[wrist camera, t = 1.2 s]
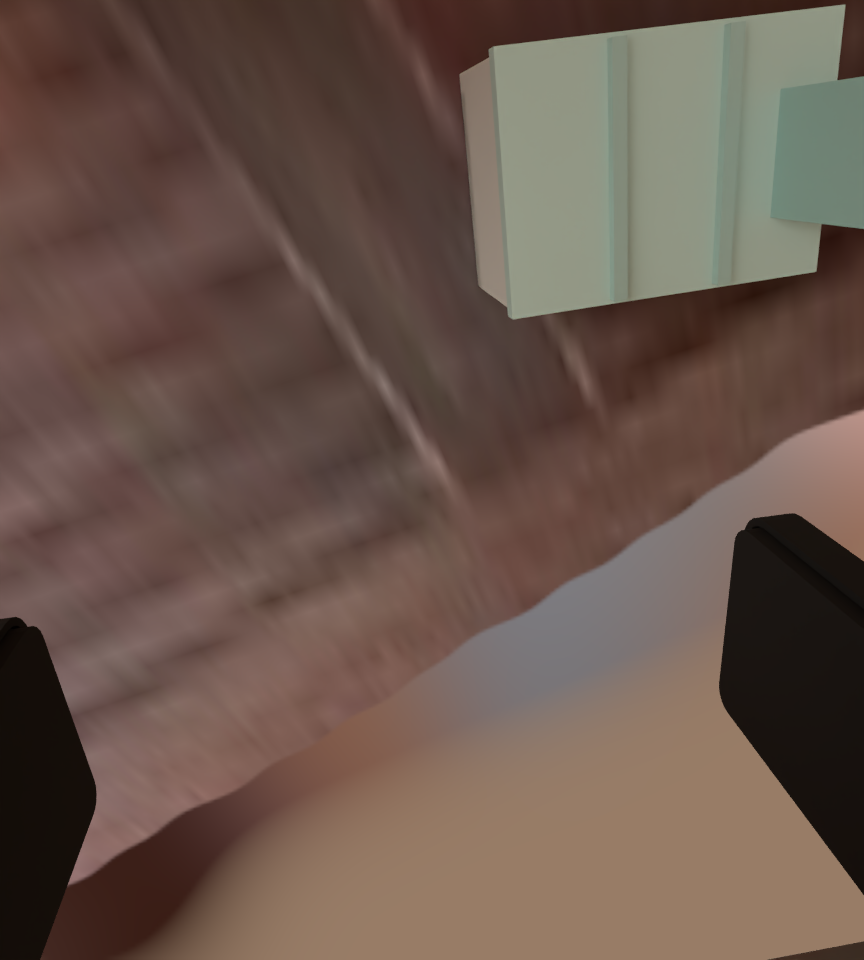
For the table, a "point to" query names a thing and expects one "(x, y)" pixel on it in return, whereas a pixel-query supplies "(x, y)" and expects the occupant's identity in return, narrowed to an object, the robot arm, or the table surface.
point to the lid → (673, 157)
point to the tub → (483, 178)
